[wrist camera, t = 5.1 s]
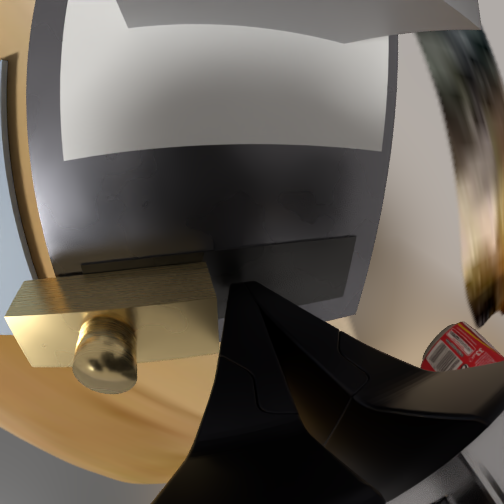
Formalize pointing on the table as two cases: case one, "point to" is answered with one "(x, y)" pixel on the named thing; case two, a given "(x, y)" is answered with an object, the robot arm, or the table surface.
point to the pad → (10, 222)
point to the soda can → (459, 350)
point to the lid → (234, 70)
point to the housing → (207, 200)
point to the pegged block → (116, 321)
